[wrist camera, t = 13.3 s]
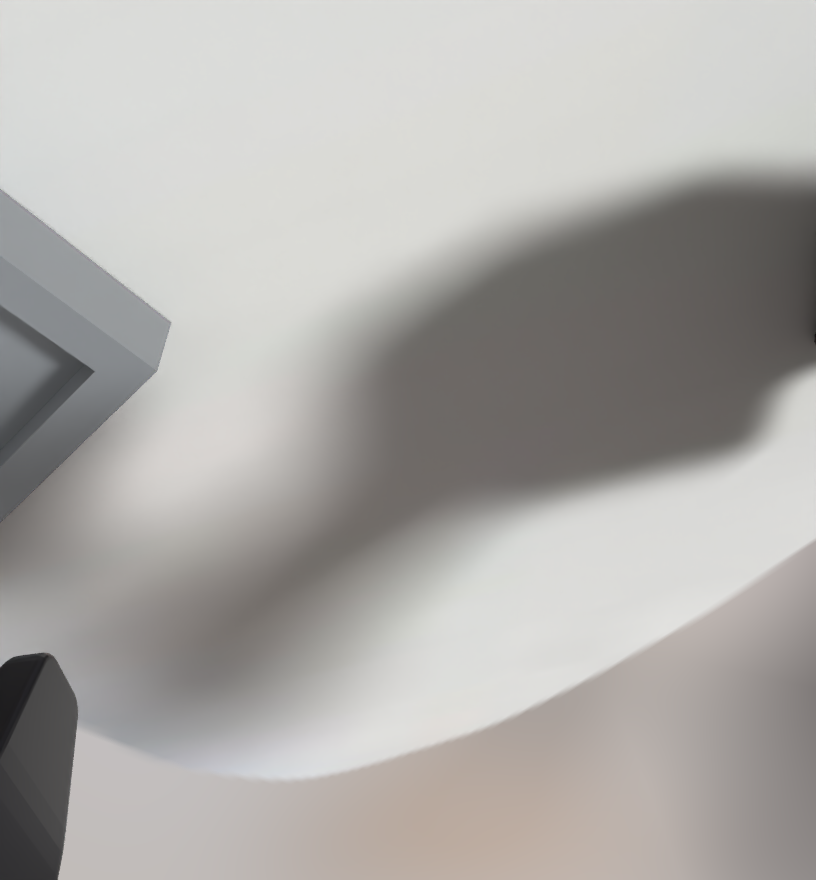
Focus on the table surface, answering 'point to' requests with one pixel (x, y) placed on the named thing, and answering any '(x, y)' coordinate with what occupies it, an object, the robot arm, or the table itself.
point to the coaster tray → (61, 350)
